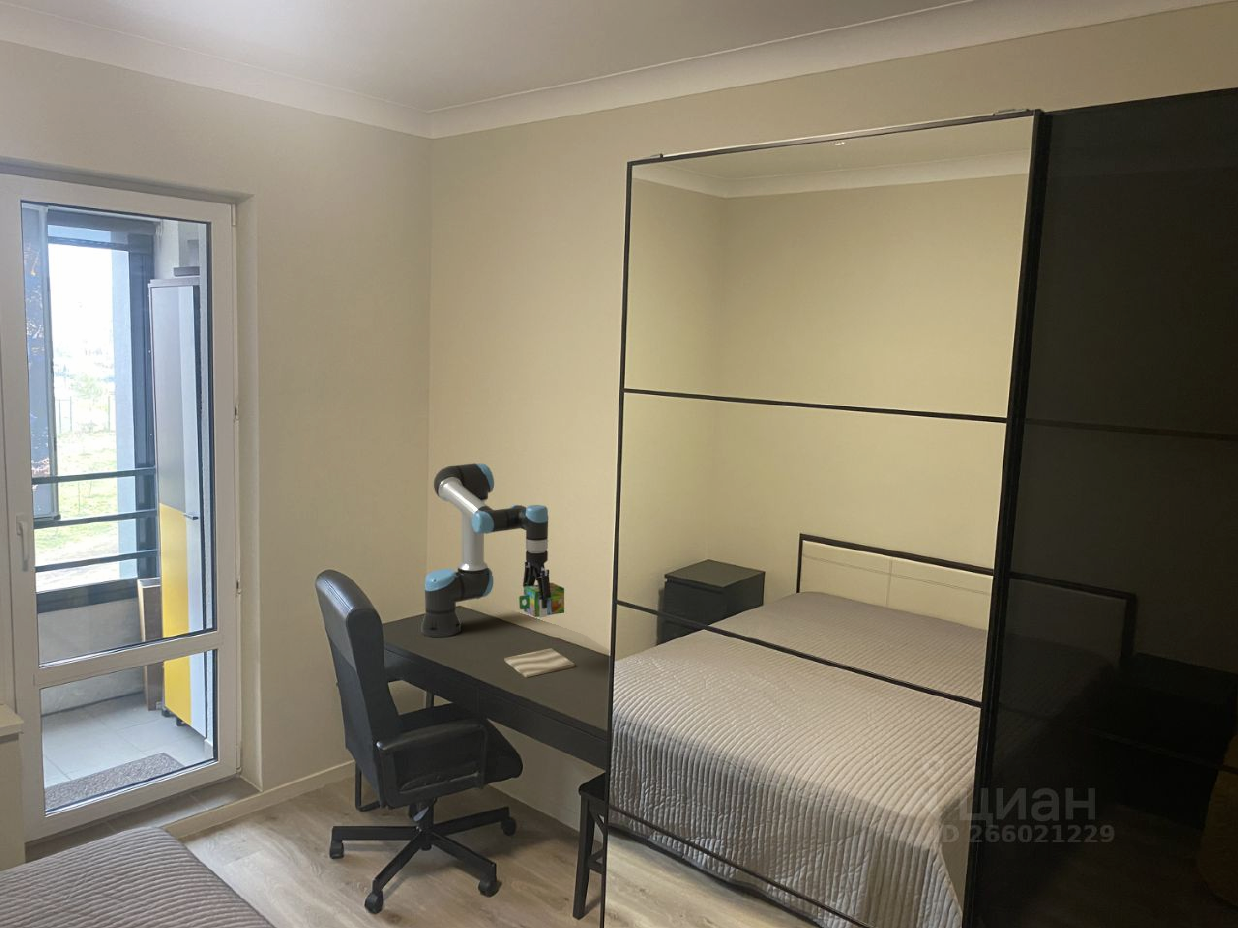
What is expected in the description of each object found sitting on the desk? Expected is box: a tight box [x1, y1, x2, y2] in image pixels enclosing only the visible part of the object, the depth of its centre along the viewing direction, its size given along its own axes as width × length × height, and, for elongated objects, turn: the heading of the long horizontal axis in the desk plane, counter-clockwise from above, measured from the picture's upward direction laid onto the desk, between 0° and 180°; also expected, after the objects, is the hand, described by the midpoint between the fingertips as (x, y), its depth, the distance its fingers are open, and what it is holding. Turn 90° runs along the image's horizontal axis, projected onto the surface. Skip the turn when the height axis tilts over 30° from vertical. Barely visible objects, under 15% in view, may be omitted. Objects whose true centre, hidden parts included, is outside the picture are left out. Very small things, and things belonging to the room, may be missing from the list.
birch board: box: [503, 647, 575, 678], centre depth 310 cm, size 17×19×1 cm
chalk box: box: [518, 582, 565, 618], centre depth 307 cm, size 9×9×15 cm
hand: (536, 612), depth 307 cm, fingers closed on chalk box, 9 cm apart
